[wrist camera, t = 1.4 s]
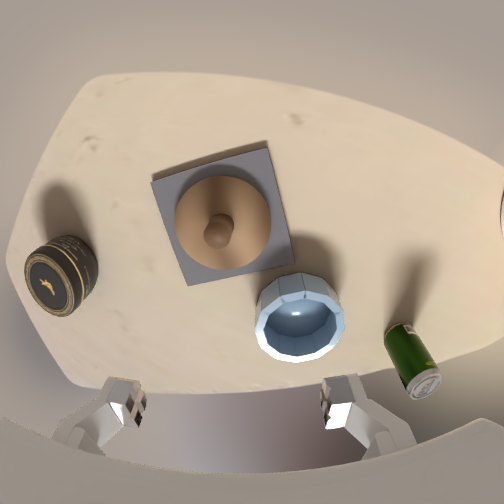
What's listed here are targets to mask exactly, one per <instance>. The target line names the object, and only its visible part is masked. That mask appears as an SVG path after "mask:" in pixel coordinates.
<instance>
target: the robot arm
mask: <svg viewBox="0 0 504 504" xmlns="http://www.w3.org/2000/svg"><path fill="white" fill-rule="evenodd" d="M501 226H502V232H503V236H504V197H503V202H502V210H501ZM322 387H323V389H322V390H321V393H320V403H321V409H322V410H323V411H324V422H325V427H326V429H330V428H338V427H345V428H346V429H347V430H348V431H349V432H350V433H351V434H352V435H353V436H354V437H355V438H357V439H358V440H359V441H360V442H361V443H362V444H363V445H364V446H365V447H366V448H367V449H368V450H367V451H366V453H365V455H364V457H363V458H362V460H361V461H357V462H352V463H348V464H342V465H338V466H331V467H325V468H319V469H311V470H302V471H293V472H282V473H281V472H280V473H263V474H223V473H203V472H191V471H181V470H173V469H165V468H158V467H153V466H146V465H141V464H136V463H131V462H127V461H122V460H118V459H114V458H110V457H106V455H105V454H104V453H103V451H102V450H101V449H100V447H102V446H103V445H104V444H105V443H106V442H107V441H108V440H109V439H110V438H111V437H112V436H114V435H115V434H116V433H117V432H118V431H119V430H120V429H121V428H122V427H123V426H128V427H135V428H139V426H140V423H141V420H142V416H141V413H142V412H143V411H145V408H146V401H147V399H146V395H145V393H144V391H142V390H141V389H140V388H141V384H140V382H139V381H138V380H131V379H124V378H117V377H108V378H107V380H106V382H105V384H104V385H103V387H102V389H101V391H100V393H99V396H98V397H97V400H93V401H91V402H89V403H88V404H87V405H85V406H83V407H82V408H80V409H79V410H77V411H75V412H74V413H72V414H71V415H69V416H67V417H66V418H64V419H63V420H61V421H60V423H59V425H58V427H57V429H56V431H55V433H54V435H53V437H52V439H51V438H49V437H46V436H44V435H41V434H39V433H36V432H34V431H32V430H30V429H28V428H26V427H23V426H21V425H19V424H17V423H15V422H13V421H11V420H9V419H7V418H5V417H0V504H504V427H502V426H500V425H498V424H496V423H493V422H492V421H489V420H487V419H484V418H480V419H477V420H475V421H472V422H470V423H468V424H466V425H464V426H462V427H460V428H458V429H455V430H453V431H451V432H449V433H446V434H444V435H441V436H439V437H436V438H434V439H432V440H428V441H426V442H423V443H420V444H417V443H416V441H415V438H414V436H413V434H412V431H411V429H410V427H409V425H408V424H407V423H406V422H405V421H403V420H401V419H400V418H398V417H397V416H395V415H394V414H392V413H391V412H389V411H388V410H386V409H385V408H383V407H382V406H380V405H379V404H377V403H376V402H374V401H372V400H371V399H369V400H368V399H367V397H366V394H365V391H364V389H363V386H362V384H361V381H360V379H359V376H358V374H349V375H342V376H336V377H329V378H323V380H322Z"/></svg>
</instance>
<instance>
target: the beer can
mask: <svg viewBox="0 0 504 504" xmlns="http://www.w3.org/2000/svg"><path fill="white" fill-rule="evenodd" d="M384 345H385V347H386V349H387V351H388V353H389V355H390V358H391V360H392V362H393V364H394V366H395V368H396V370H397V372H398V374H399V376H400V379H401V381H402V383H403V385H404V387H405V390H406V392H407V394H409V395H410V397H411V398H412V399H414V400H418V399H422V398H424V397H427V396H428V395H430V394H432V393H433V392H434V391H435V390H436V389H437V388H438V387H439V385H440V383H441V381H442V378H441V375H440V370H439V369H438V367H437V365H436V363H435V362H434V360H433V359H432V357H431V355H430V354H429V352H428V350H427V349H426V347H425V346H424V344H423V343H422V341H421V339H420V338H419V336H418V335H417V333H416V332H415V330H414V329H413V327H412V326H411V325H410V324H407V323H397V324H395V325H393V326H392V327H391V328H389V329H388V331H387V332H386V334H385V337H384Z"/></svg>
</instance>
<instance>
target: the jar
mask: <svg viewBox="0 0 504 504" xmlns="http://www.w3.org/2000/svg"><path fill="white" fill-rule="evenodd" d="M24 274H25V280H26V284H27V286H28V289H29V291H30V293H31V295H32V296H33V298H34V299H35V301H36V302H37V303H38V304H39V305H40V306H41V307H42V308H43V309H44V310H45V311H47V312H48V313H50V314H52V315H54V316H58V317H64V316H68V315H70V314H71V313H72V312H73V311H74V310H75V309H77V308H78V307H79V306H80V305H81V303H82V301H83V300H84V299H85V298H86V297H87V296H88V295H89V294H90V293H91V291H92V290H93V288H94V286H95V284H96V281H97V277H98V267H97V263H96V259H95V257H94V255H93V253H92V251H91V250H90V248H89V247H88V246H87V245H86V244H85V243H84V242H83V241H81V240H80V239H78V238H76V237H74V236H60V237H57V238H55V239H53V240H51V241H50V242H48V243H46V244H45V245H43V246H40V247H39V248H37V249H36V250H35V251H34V252H32V253H31V254H30V255H29V256H28V258H27V260H26V263H25V268H24Z"/></svg>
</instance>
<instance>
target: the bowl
mask: <svg viewBox="0 0 504 504" xmlns="http://www.w3.org/2000/svg"><path fill="white" fill-rule="evenodd" d="M344 330H345V324H344V314H343V309H342V307H341V304H340V302H339V300H338V297H337V295H336V293H335V291H334V290H333V289H332V288H331V287H330V286H329V285H328V284H327V283H326V281H325V280H324V279H323V278H321V277H317V276H313V275H309V274H306V273H302V272H301V273H295V274H291V275H287V276H282V277H279V278H277V279H276V280H275V281H273V282H272V283H271V284H270V285H269V286H267V287H266V288H265V289H264V290H262V292H261V294H260V297H259V300H258V303H257V306H256V311H255V333H256V336H257V339H258V342H259V344H260V347H261V348H262V349H264V350H265V351H266V352H268V353H269V354H270V355H272V356H273V357H274V358H276V359H280V360H285V361H291V362H301V361H306V360H311V359H315V358H319V357H320V356H322V355H323V354H325V353H326V352H328V351H329V350H330V349H332V348H333V347H335V346H336V344H337V342H338V341H339V339H340V337H341V335H342V333H343V332H344Z"/></svg>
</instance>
